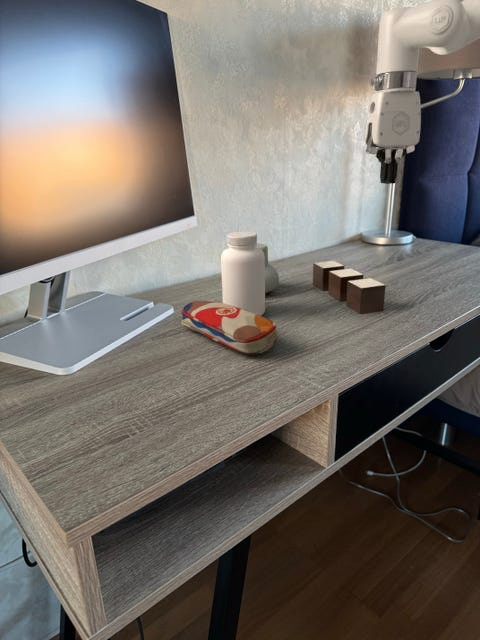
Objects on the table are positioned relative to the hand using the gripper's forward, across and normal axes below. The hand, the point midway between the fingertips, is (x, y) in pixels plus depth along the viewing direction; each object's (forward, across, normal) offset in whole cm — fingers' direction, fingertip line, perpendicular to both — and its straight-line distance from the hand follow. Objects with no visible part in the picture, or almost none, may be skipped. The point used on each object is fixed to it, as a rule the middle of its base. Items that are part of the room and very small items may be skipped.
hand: (387, 183), depth 93 cm
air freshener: (+21, -29, +3) cm, 36 cm away
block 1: (+21, -13, 0) cm, 25 cm away
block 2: (+21, -13, -15) cm, 29 cm away
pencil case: (+21, -41, -19) cm, 50 cm away
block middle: (+21, -13, -8) cm, 26 cm away
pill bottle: (+21, -35, -9) cm, 42 cm away
